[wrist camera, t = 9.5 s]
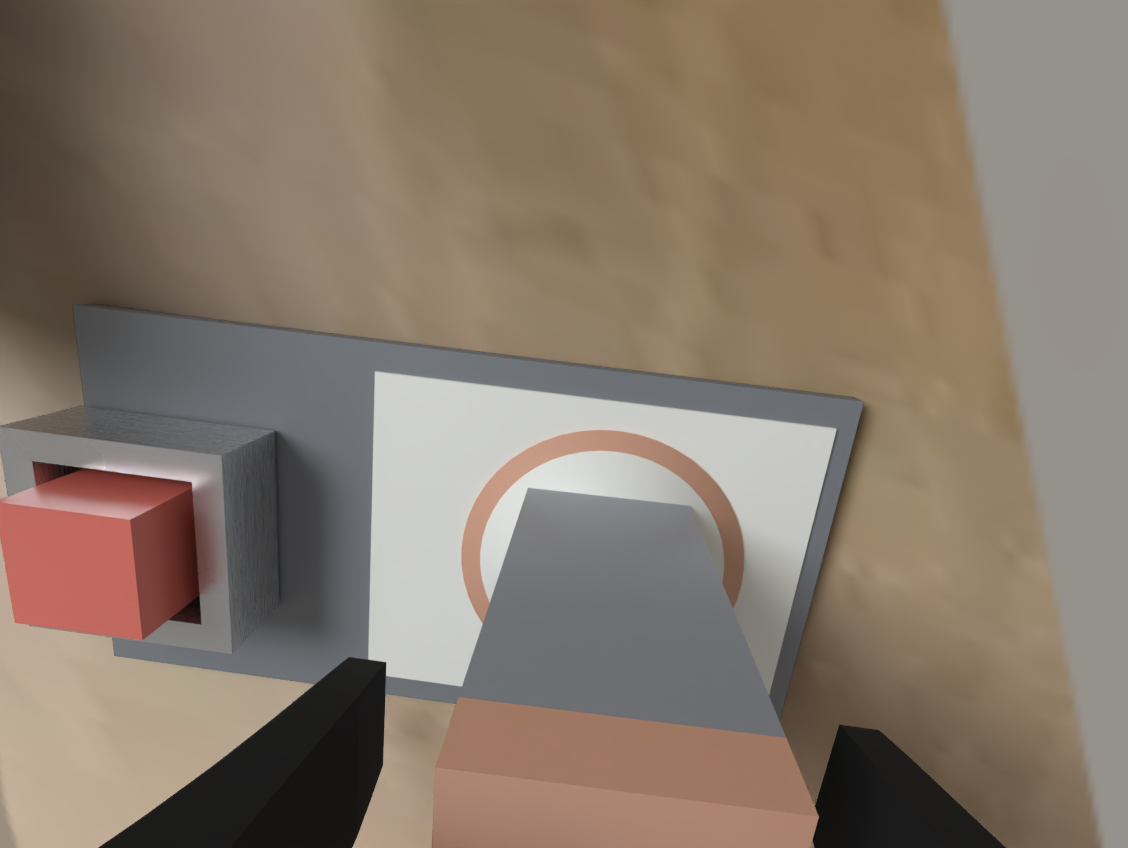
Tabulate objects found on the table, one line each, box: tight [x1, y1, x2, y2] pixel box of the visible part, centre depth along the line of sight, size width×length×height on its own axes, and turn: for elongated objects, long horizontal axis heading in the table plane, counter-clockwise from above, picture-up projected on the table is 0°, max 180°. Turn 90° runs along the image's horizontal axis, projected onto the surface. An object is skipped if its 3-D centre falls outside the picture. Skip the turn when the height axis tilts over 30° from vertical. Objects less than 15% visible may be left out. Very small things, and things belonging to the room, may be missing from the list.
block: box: [432, 488, 819, 848], centre depth 10 cm, size 4×4×8 cm
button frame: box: [0, 406, 279, 654], centre depth 13 cm, size 5×5×2 cm
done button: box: [0, 468, 200, 640], centre depth 12 cm, size 3×3×2 cm
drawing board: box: [72, 304, 864, 721], centre depth 14 cm, size 10×19×1 cm, turn 84°
